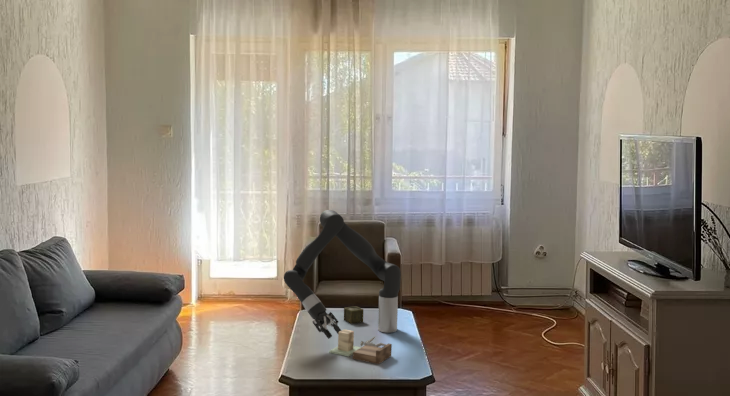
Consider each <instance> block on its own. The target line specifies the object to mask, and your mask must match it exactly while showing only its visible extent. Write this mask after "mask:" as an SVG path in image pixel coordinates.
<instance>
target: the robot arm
mask: <svg viewBox="0 0 730 396" xmlns="http://www.w3.org/2000/svg"><path fill="white" fill-rule="evenodd" d="M319 222H320V225H321V226H322V230H321V232H320V233H319V235H317V237H316V238H315V239H313V240H312V241H311V242H310V243H308V244H307V245H306V246H305V248H303V250H301V253H300V254H299V255H298V257H297V258H296V260H295V265H294V266H293V268H292V269H289V270H287V271H285V272H284V274H283V281H284V282H285V284H286V286H287V287H288V288H289V290H291V291H292V292H293V293H294V294H295V296H296V297H297V298H298V300H299V301H300V303H301V304H302V307H303V308H304V309H305V310H306V312H307V313H308V315H310V317H311V318H312V320H313V321H312V324H313V326H314V327H315V328H316V330H317V331H318V332H319V333H323V334H324V335H325V337H326V338H327V339H331V338H332V337H333V334H332V333H331V332H330V331H329V329H328V328H327V326H329V327H331V328H333V330H334V331H335V332H336V334H337V335H338V332H339V331H342V330H341V327H340V326H338V323H339V320H338V319H337V318H336V316H335V315H334V314H333V312H331V311H330V312H329V313H327V312H326V311H327V307H326V306H325V305H324V304H323V302H322V301H321V300H320V298H319V297H318V296H317V295H316V294H315V293H314V291H313V290H312V289H311V287H310V286H309V285H307V284H306V283H305V282H304V279H305V277H306V275H307V273H308V272H309V269H310V268H311V267H312V265H313V263H314V262H315V260H317V258H318V256H319V255H320V254H321V252H322V251H323V250H324V248H326V247H327V245H328V244H329V243H330V242H331V241H332V240H333V239H334V238H335V237H336V238H338V240H339V241H340V242H341V243H342V244H343V245H344V247H346V249H347V250H348V251H349V252H350V253H351V254H352V255H354V257H356V258H358V260H360V261H361V262H362V263H363V264H365V265H367V267H368V268H370V270H371V271H372V272H373V273H374V274H375V275H376V277H377V278H378V279H379V280H380V281H383V283H384V284H383V287H382V288H380V289H379V291H378V317H377V318H378V322H377V330H378V331H379V332H382V333H386V334H387V333H390V334H391V333H396V332H397V330H398V310H399V308H398V306H399V305H398V303H399V301H398V300H399V292H400V289H401V279H402V278H401V277H402V273H401V272H402V271H401V268H400V267H399V266H398V265H396V264H394V263H390V262H388V261H386V260H385V259H383V258H382V257H381V256H379V254H377V252H376V249H375V247H373V245H372V243H370V242H369V241H368V240H367V238H365V237H364V236H363V235H361V234H360V233H359V232H357V231H356V230H354V229H353V228H351V227H350V226H349V225H348V224H346V223H345V220H344V218H343V216H342V215H341V214H339V213H338V212H337V211H335V210H331V209H326V210H324V211H323V212H321V214H320V216H319Z"/></svg>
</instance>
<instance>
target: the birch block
mask: <svg viewBox="0 0 730 396" xmlns="http://www.w3.org/2000/svg"><path fill="white" fill-rule="evenodd" d="M354 335H355V331H354V330H349V329H345V328H344V329H342V330H341V331H339V332H338V334H337V336H338V337H337V347H338V350H342V351H347V352H348V351H350V350H352V349H353V346H355V345H354V338H355V336H354Z"/></svg>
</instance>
